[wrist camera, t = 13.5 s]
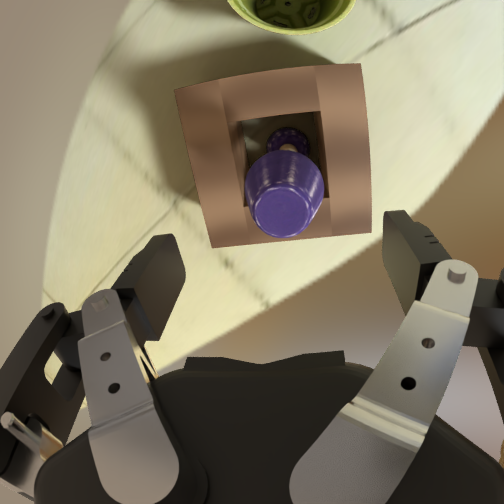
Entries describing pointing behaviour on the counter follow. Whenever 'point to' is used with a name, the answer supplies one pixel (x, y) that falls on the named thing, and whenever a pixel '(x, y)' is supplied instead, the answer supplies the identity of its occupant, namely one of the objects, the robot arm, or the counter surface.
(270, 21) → the plant pot
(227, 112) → the socket block
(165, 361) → the counter surface
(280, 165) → the toy lamp
